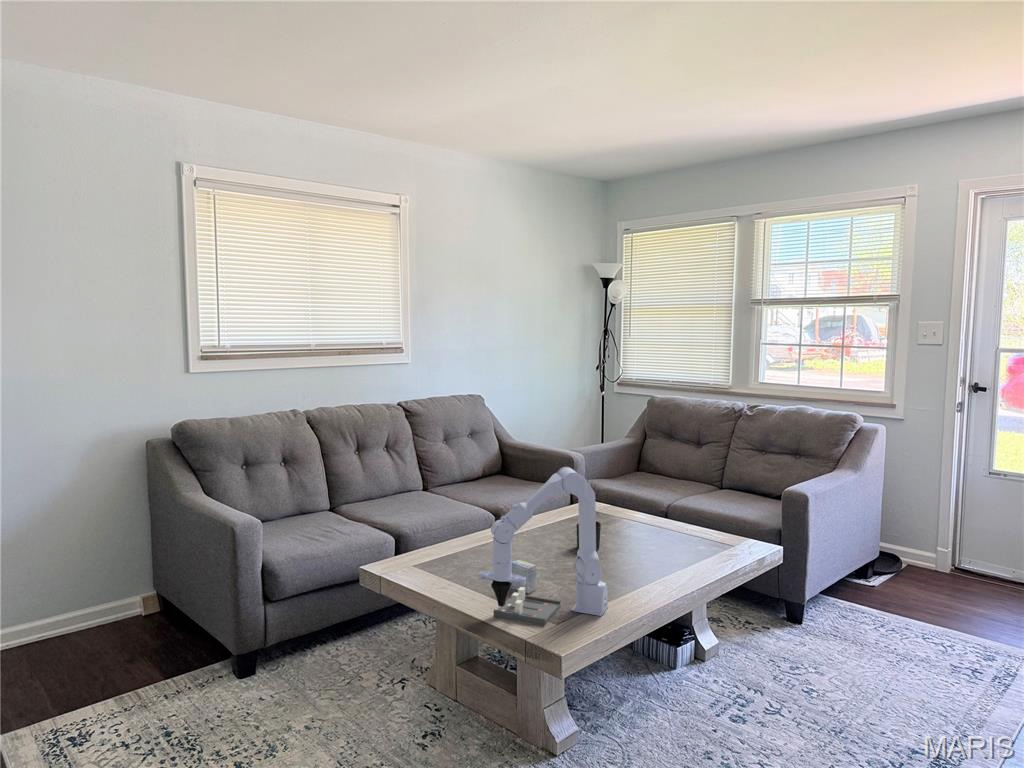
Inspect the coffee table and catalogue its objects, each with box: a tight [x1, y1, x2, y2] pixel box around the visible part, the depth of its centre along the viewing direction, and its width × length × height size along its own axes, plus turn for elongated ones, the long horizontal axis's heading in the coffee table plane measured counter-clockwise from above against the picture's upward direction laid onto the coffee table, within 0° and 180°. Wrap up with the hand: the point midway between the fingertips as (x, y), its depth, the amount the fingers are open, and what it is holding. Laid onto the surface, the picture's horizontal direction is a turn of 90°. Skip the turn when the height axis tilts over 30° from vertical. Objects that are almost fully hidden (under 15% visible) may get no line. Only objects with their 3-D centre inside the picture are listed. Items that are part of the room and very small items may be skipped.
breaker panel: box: [493, 592, 562, 627], centre depth 209 cm, size 16×15×2 cm
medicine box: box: [510, 559, 537, 595], centre depth 227 cm, size 8×4×9 cm, turn 48°
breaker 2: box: [517, 587, 526, 601], centre depth 215 cm, size 2×2×4 cm
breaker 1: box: [511, 592, 520, 607], centre depth 210 cm, size 2×2×4 cm
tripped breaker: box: [515, 600, 523, 614], centre depth 205 cm, size 2×2×4 cm
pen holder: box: [576, 520, 602, 551], centre depth 270 cm, size 9×9×10 cm
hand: (501, 605), depth 207 cm, fingers closed
